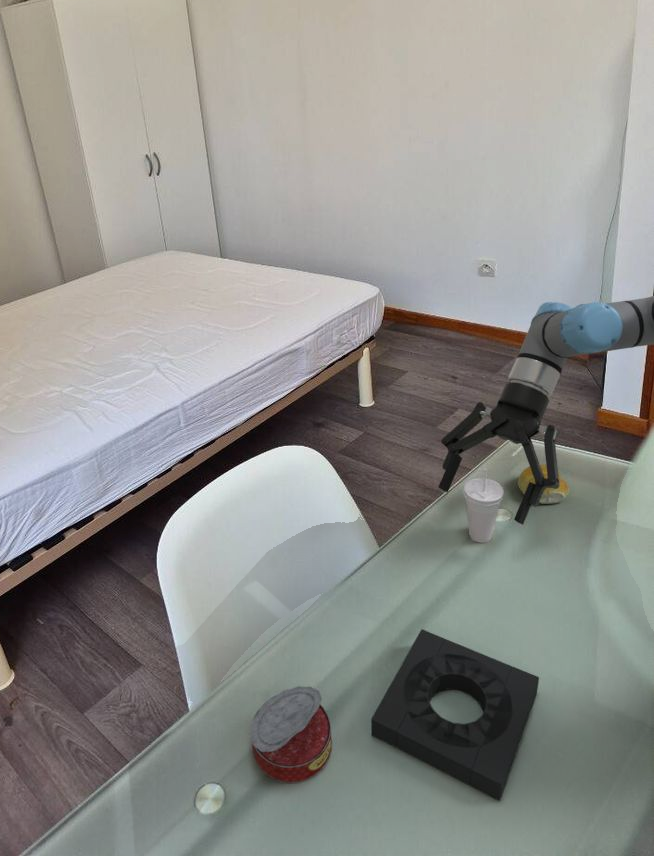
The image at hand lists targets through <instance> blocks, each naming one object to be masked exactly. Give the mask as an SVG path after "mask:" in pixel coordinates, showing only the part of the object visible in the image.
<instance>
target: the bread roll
mask: <svg viewBox="0 0 654 856" xmlns="http://www.w3.org/2000/svg"><path fill="white" fill-rule="evenodd" d="M540 466H541V469H542V472H543V475H544V477H545V478H548V476H547V466H546V465H545V464H540ZM558 475H559V484H560V486H559V488H558V489H554V488H546V489H545V490H544V492H543V494H542V496H541V499H540V501H539V504H543V505H544V504H545V505H546V504H547V505H550V504H557V503H562V502H563V501H564V500H565V499H566V497H567V496H568V494H569V493H570V491H569V485H568V483H567V482H566V481H564V479H563V478H562V475H561V474H560V473H559V472H558ZM529 482H531V483H534V484H535V479H534V476H533V474H532V471H531V468H530V466H527V467H526V468H524V469H523V470H522V471H521V473H520V474H519V477H518V479H517V486H518V488H519V490H520V491H521V493H522V494H523V495H524V494H525V492H526V489H527V487H528V484H529Z"/></svg>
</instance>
